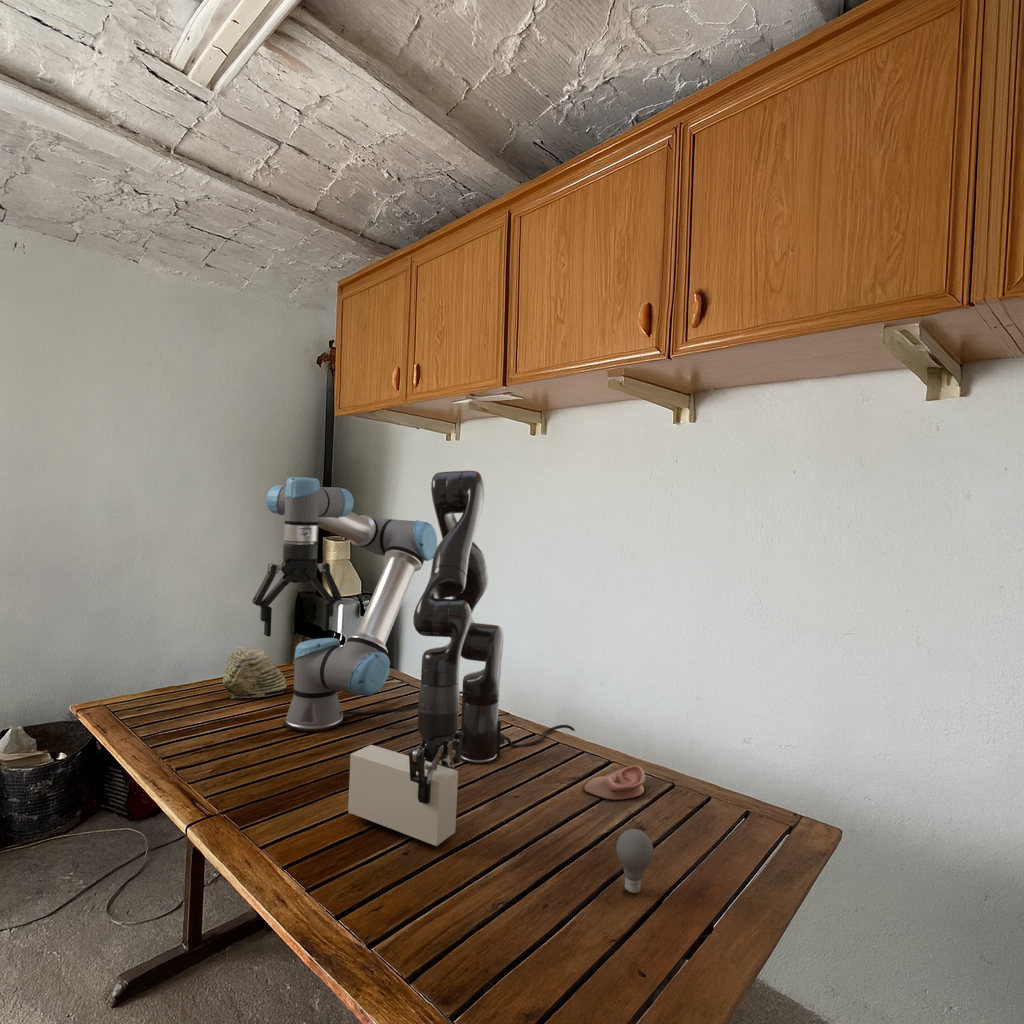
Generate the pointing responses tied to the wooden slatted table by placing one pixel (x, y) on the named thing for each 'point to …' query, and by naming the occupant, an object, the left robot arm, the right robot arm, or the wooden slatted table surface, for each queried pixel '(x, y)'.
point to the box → (401, 795)
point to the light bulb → (634, 857)
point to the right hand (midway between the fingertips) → (434, 795)
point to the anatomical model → (618, 784)
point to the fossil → (252, 674)
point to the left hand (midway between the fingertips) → (297, 632)
